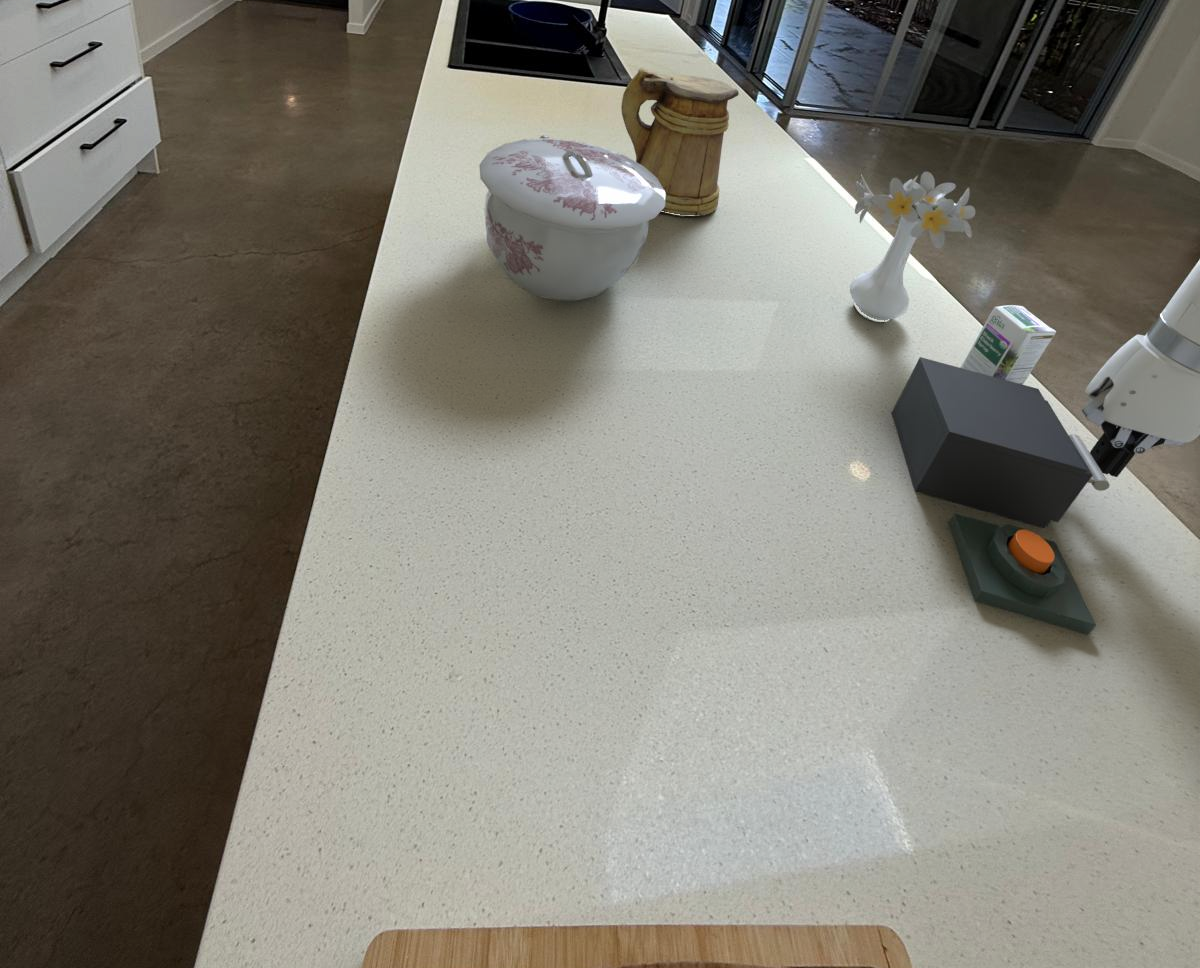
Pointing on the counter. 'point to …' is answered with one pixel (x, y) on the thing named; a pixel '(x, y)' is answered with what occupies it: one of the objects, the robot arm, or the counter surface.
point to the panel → (1017, 577)
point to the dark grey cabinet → (985, 443)
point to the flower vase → (905, 238)
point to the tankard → (680, 136)
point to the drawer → (1091, 475)
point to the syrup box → (1009, 344)
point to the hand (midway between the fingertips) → (1102, 465)
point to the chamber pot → (566, 215)
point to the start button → (1031, 551)
